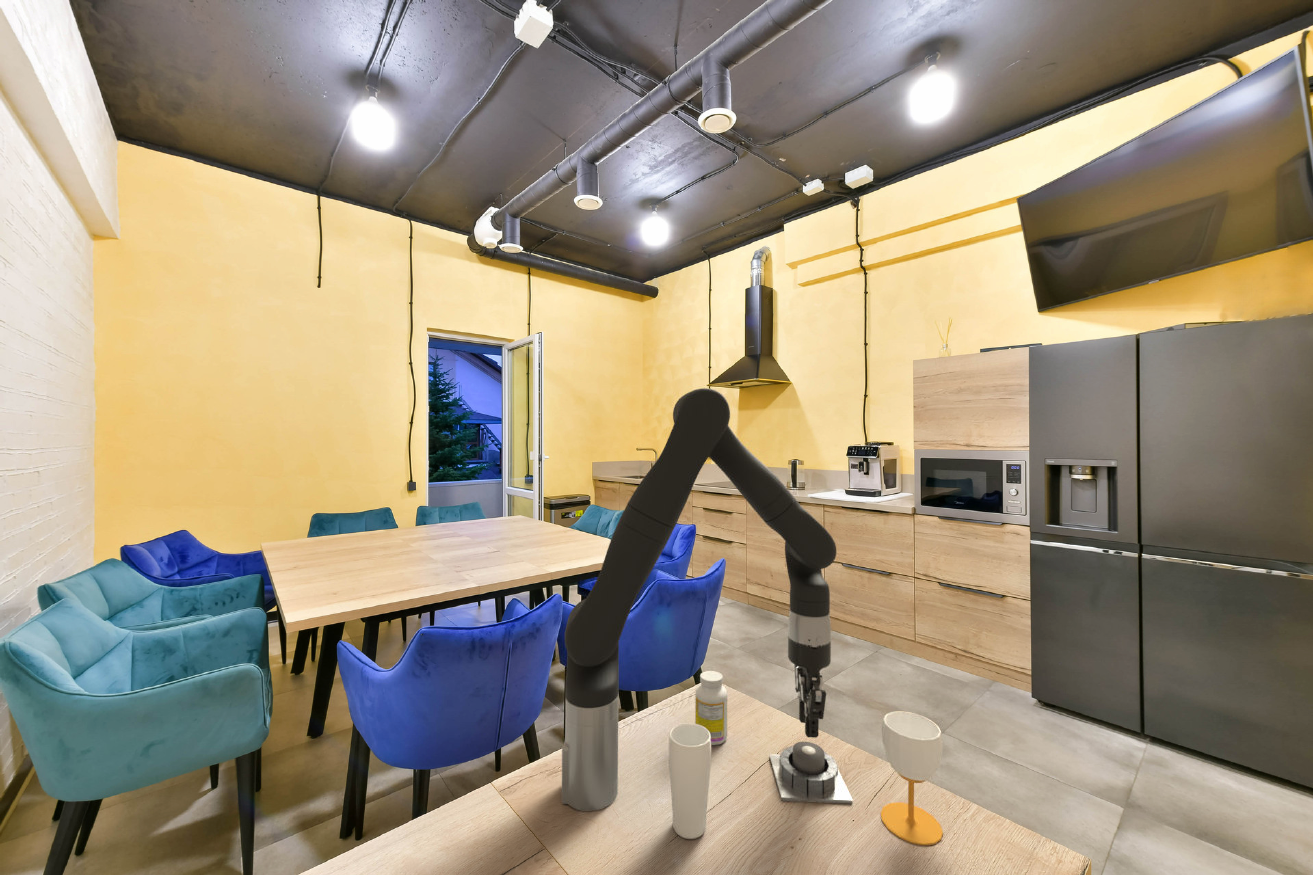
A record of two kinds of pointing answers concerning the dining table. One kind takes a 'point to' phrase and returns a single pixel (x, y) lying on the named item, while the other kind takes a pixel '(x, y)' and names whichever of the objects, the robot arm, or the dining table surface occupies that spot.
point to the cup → (912, 773)
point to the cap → (808, 758)
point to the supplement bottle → (712, 706)
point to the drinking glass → (689, 778)
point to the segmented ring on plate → (808, 781)
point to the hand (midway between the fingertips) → (808, 728)
